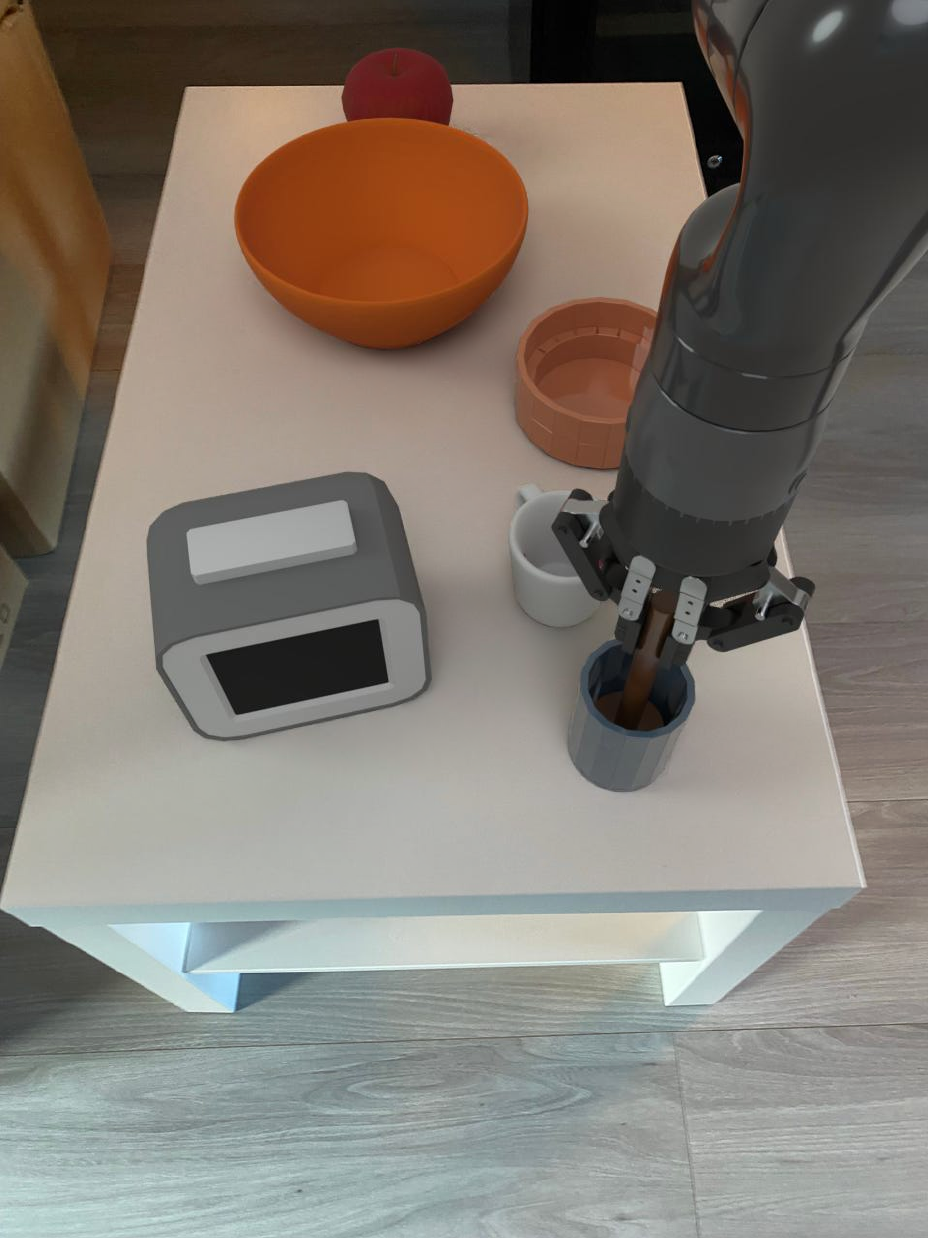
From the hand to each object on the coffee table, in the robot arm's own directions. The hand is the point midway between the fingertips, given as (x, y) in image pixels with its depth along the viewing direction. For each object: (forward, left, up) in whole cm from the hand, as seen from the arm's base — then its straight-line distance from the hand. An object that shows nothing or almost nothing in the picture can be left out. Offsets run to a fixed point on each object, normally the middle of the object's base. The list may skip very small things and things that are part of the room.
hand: (650, 647), depth 54 cm
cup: (+10, -10, -14) cm, 20 cm away
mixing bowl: (+14, -28, -14) cm, 34 cm away
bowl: (+37, -32, -14) cm, 51 cm away
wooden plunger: (0, 0, -13) cm, 13 cm away
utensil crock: (0, 0, -14) cm, 14 cm away
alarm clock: (+23, +4, -14) cm, 27 cm away
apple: (+46, -50, -14) cm, 69 cm away
